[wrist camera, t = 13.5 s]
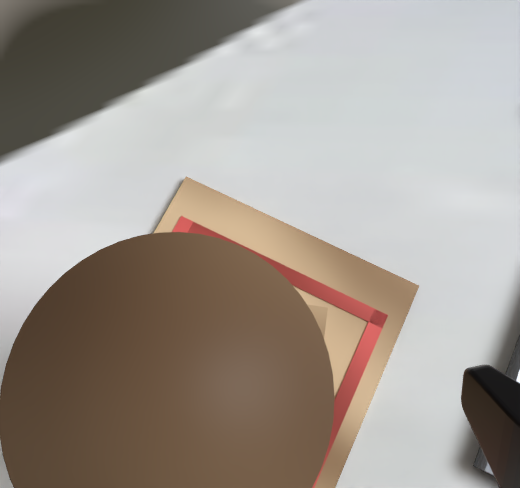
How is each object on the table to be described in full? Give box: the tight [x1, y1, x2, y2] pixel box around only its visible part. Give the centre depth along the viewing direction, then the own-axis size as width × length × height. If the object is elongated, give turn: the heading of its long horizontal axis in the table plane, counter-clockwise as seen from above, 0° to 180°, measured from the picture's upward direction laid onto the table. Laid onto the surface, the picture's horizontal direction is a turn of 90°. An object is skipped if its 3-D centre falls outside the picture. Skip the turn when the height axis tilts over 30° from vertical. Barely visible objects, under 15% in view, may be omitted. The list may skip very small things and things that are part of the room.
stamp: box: [0, 232, 335, 488], centre depth 13 cm, size 6×6×14 cm
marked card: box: [153, 177, 419, 488], centre depth 20 cm, size 13×11×1 cm
